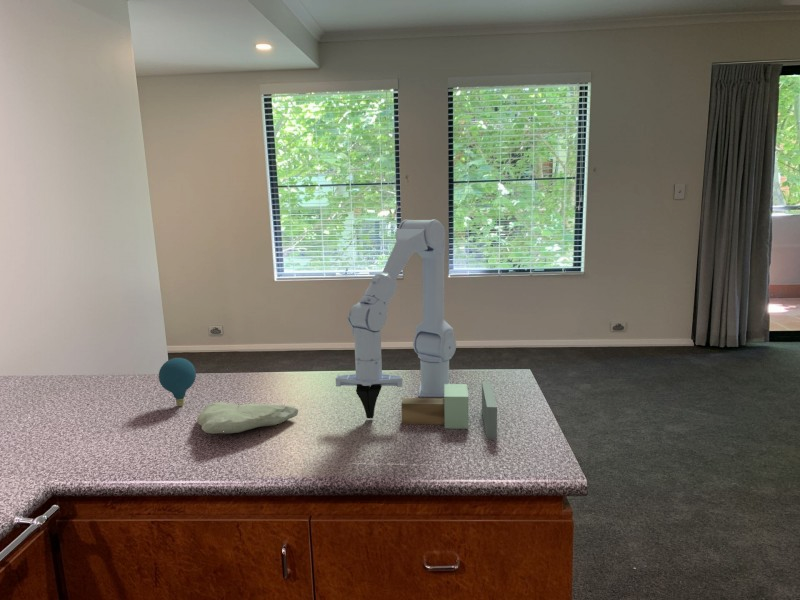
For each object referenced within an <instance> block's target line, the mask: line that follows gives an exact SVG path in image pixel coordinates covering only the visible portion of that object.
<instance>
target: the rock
mask: <svg viewBox="0 0 800 600" xmlns="http://www.w3.org/2000/svg"><path fill="white" fill-rule="evenodd" d="M298 414H299V409H298V408H297V407H295V405H284V404H267V403H266V404H264V403H260V402H255V403H250V404H249V403H247V404H245V403H243V404H234V403H229V402H225V401H216V402H213V403H212V402H211V403H209V404H207V405H206V406H204V408H203V409H202V410H201V412H200V413H199V414H198V416H197V417H196V419H197V424H198V425H200V427H201V430H202V431H203V432H204V433H206V434H227V435H228V434H235V433H243V432H245V431H250V430H252V429H255V428H260V427H268V426H269V427H270V426H277V424H278V425H281V424H282V422H283V423H284V422H285V421H288V420H290V419H293V418H295V417H297V416H298ZM223 431H224V432H223Z"/></svg>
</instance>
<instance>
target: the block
mask: <svg viewBox="0 0 800 600" xmlns="http://www.w3.org/2000/svg"><path fill="white" fill-rule="evenodd" d="M468 391H469V390H468V384H466V383H464V384H463V383H450V384H444V397H443V398H444V411H445V424H444V429H451V430H452V429H457V430H459V429H460V430H462V429H463V430H465V429H467V430H469V392H468Z"/></svg>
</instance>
